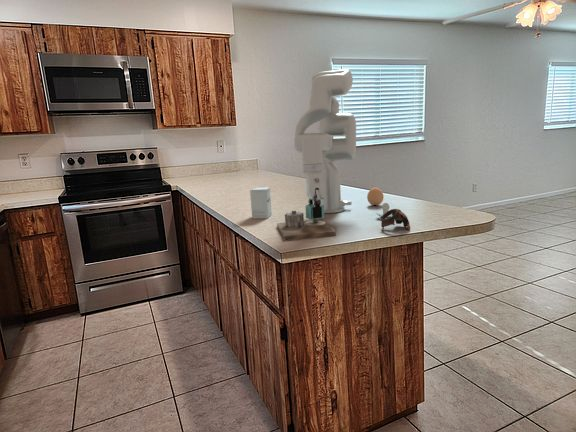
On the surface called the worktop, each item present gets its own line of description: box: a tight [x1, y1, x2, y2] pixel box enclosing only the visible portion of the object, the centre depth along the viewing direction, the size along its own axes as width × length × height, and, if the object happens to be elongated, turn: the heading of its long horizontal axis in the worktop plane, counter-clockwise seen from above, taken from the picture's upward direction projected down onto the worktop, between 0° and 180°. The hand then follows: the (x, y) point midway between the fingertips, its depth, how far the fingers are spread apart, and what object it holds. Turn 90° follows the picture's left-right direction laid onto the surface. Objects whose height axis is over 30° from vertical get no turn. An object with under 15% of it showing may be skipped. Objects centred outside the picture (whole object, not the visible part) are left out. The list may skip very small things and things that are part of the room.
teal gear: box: [305, 204, 325, 220], centre depth 149 cm, size 7×7×4 cm
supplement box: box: [249, 186, 273, 219], centre depth 172 cm, size 7×7×13 cm
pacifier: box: [375, 202, 392, 220], centre depth 156 cm, size 7×6×6 cm
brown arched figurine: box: [379, 208, 411, 231], centre depth 142 cm, size 12×10×8 cm
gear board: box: [276, 210, 337, 242], centre depth 145 cm, size 18×20×7 cm
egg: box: [366, 186, 384, 206], centre depth 182 cm, size 7×7×8 cm
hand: (315, 215), depth 149 cm, fingers closed on teal gear, 6 cm apart
